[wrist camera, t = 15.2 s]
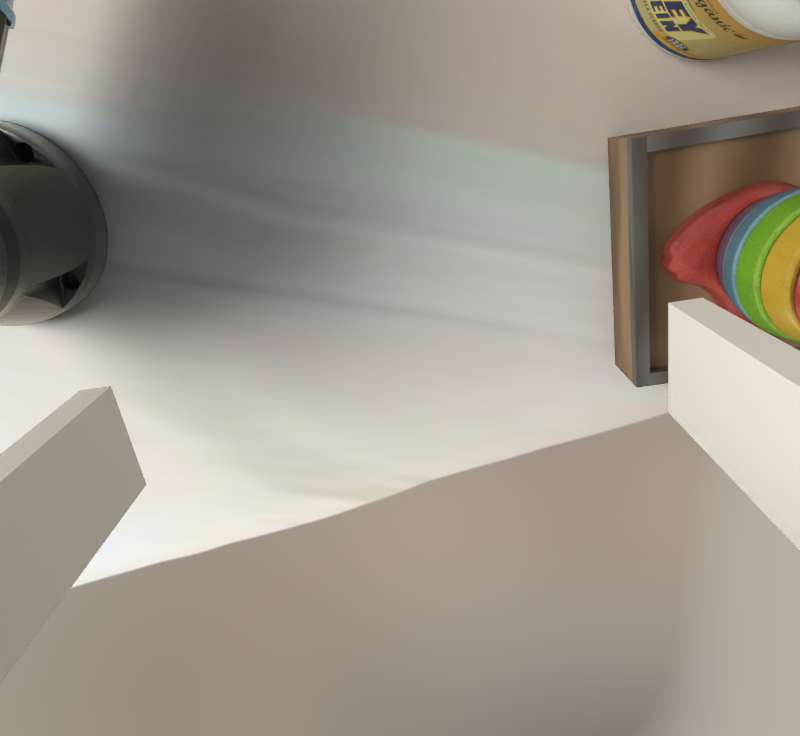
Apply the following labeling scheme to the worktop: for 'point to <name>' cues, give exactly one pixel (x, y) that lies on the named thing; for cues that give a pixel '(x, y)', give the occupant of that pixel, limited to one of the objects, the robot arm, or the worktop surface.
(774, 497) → the robot arm
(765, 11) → the supplement tub
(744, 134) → the square tray
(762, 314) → the stacking bear
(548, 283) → the worktop surface
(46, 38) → the worktop surface
